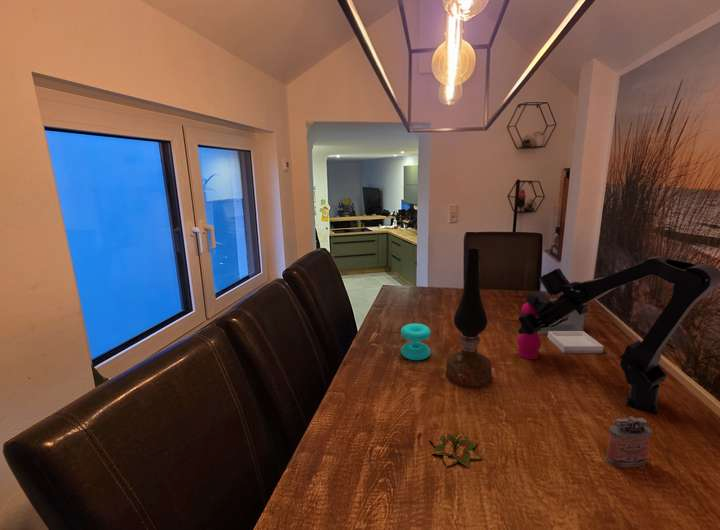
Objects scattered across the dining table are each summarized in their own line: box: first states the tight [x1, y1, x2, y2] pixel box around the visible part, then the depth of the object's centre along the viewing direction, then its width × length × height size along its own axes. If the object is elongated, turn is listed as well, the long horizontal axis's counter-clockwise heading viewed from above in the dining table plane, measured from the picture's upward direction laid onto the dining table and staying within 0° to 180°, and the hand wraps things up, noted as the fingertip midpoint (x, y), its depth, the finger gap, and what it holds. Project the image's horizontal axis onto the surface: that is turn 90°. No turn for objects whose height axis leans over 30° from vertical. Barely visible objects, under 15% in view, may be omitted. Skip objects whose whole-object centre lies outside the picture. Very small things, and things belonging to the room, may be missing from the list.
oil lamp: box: [444, 248, 493, 389], centre depth 112 cm, size 14×15×40 cm
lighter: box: [605, 415, 653, 468], centre depth 76 cm, size 8×3×10 cm, turn 92°
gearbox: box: [537, 298, 586, 335], centre depth 144 cm, size 12×16×13 cm
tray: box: [547, 330, 604, 354], centre depth 130 cm, size 13×13×2 cm
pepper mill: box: [516, 302, 542, 360], centre depth 122 cm, size 7×7×20 cm
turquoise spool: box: [400, 323, 432, 361], centre depth 126 cm, size 10×10×10 cm
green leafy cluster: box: [433, 428, 484, 469], centre depth 82 cm, size 12×12×5 cm
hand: (525, 330), depth 123 cm, fingers open, 7 cm apart
